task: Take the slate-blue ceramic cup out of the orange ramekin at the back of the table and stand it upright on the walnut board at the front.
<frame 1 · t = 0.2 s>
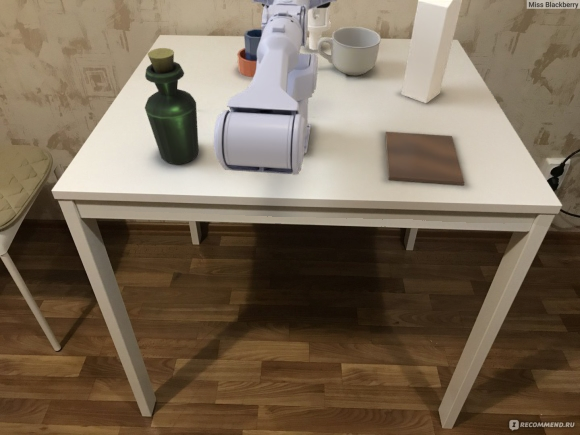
potion bottle: (180, 155, 80), on the table
orange ramekin: (258, 70, 105), on the table
walnut board: (421, 158, 79), on the table
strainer: (315, 49, 115), on the table
milk: (420, 94, 97), on the table
blue cup: (258, 68, 105), resting on orange ramekin
teacup: (345, 70, 106), on the table
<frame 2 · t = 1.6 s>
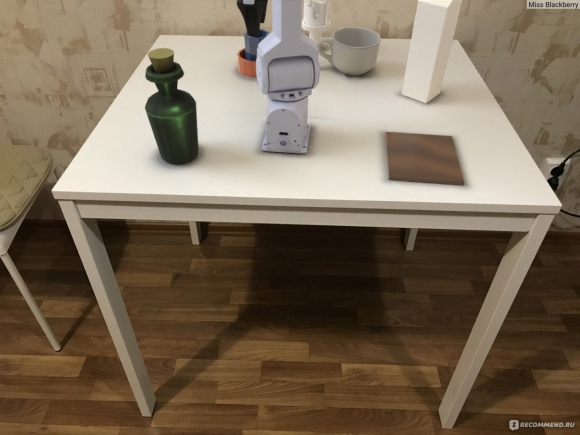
hand: (256, 28, 99), 9 cm above the table, tool pointing down, fingers open, 7 cm apart
nothing on the table moved.
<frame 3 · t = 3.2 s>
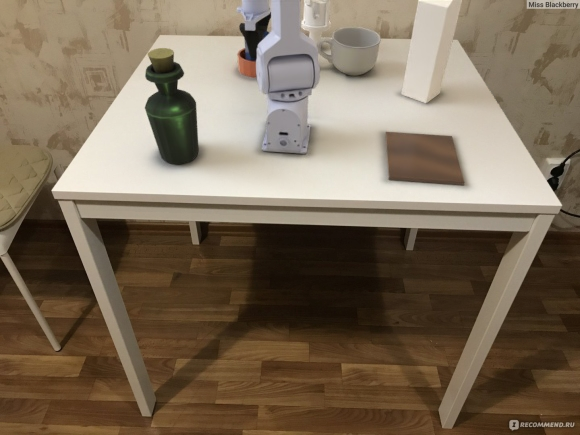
hand: (257, 51, 102), 4 cm above the table, tool pointing down, fingers closed on blue cup, 5 cm apart
blue cup: (258, 68, 105), resting on orange ramekin, touching gripper
everything else where it was.
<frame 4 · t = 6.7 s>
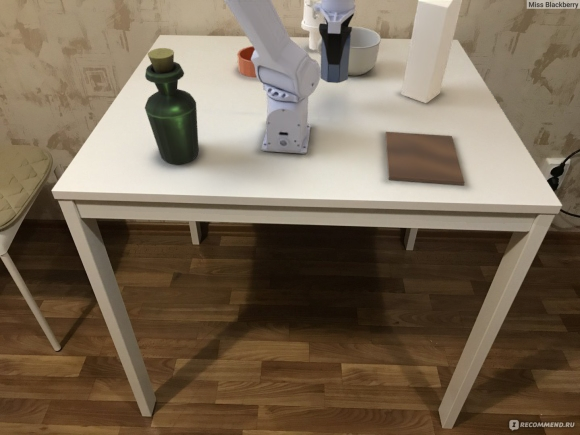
hand: (335, 56, 86), 10 cm above the table, tool pointing down, fingers closed on blue cup, 5 cm apart
blue cup: (334, 76, 88), point 7 cm above the table, touching gripper
everything else where it was.
when the fingers open (4 cm above the table, at t = 10.7 s): blue cup stays where it is, resting on walnut board.
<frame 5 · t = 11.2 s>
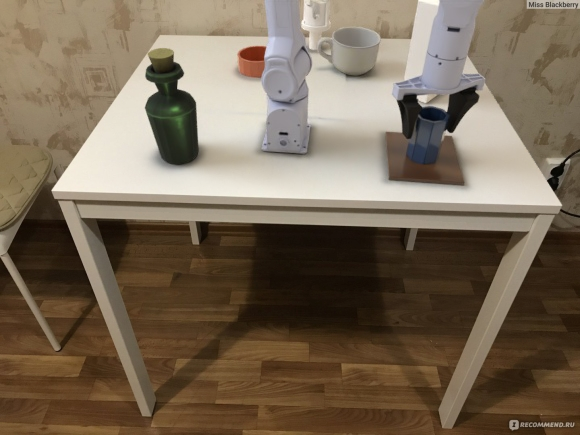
hand: (427, 132, 76), 5 cm above the table, tool pointing down, fingers open, 7 cm apart
blue cup: (422, 155, 79), point 1 cm above the table, touching walnut board
everything else where it was.
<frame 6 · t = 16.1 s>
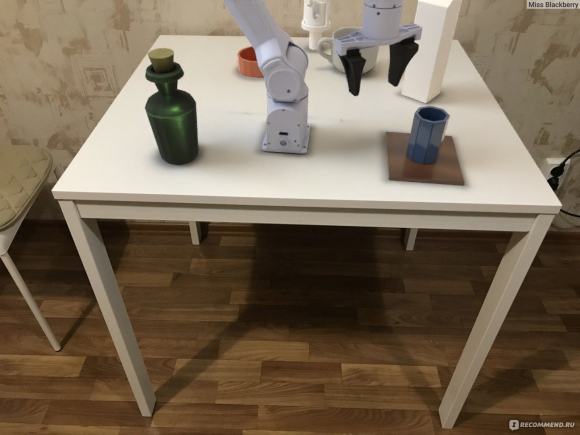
hand: (373, 88, 76), 10 cm above the table, tool pointing down, fingers open, 7 cm apart
nothing on the table moved.
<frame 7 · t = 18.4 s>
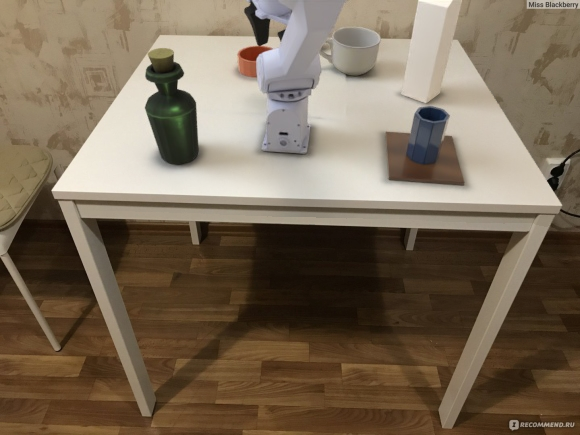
hand: (275, 53, 86), 11 cm above the table, tool pointing down, fingers open, 7 cm apart
nothing on the table moved.
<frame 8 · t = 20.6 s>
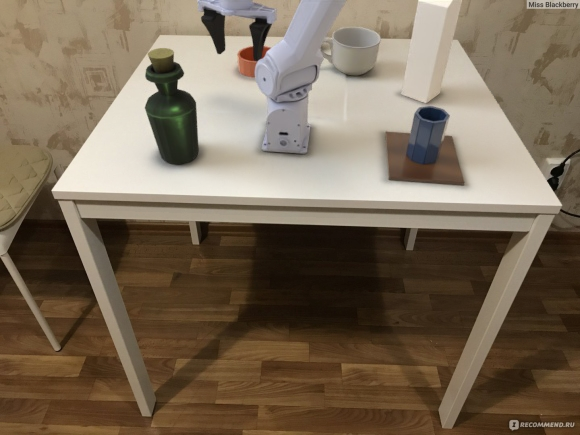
hand: (239, 55, 86), 10 cm above the table, tool pointing down, fingers open, 7 cm apart
nothing on the table moved.
at the end: blue cup inside the target area on the walnut board (0.1 cm from its centre), point 0.6 cm above the walnut board's base; blue cup tilted 0°; the gripper is holding nothing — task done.
